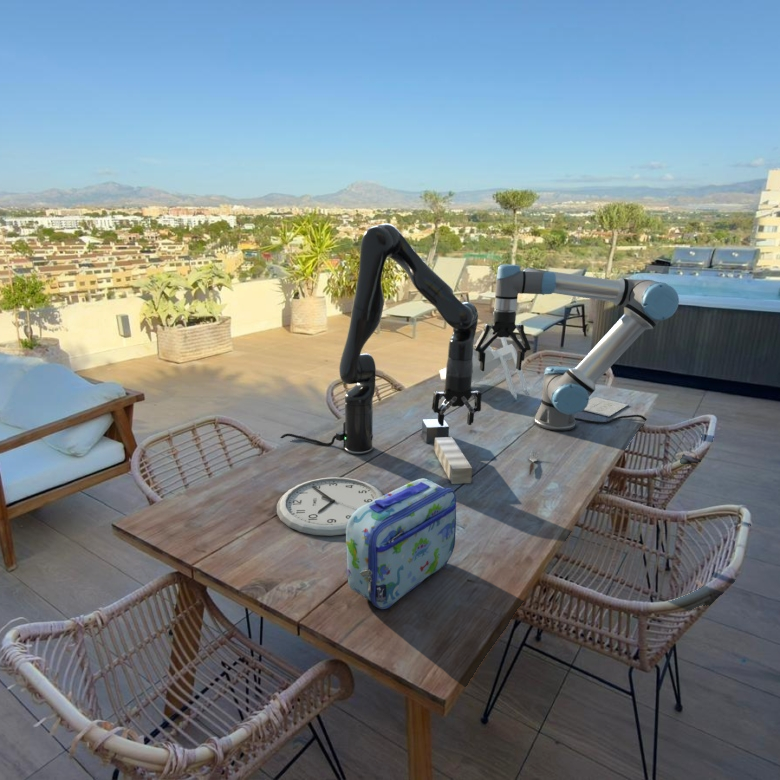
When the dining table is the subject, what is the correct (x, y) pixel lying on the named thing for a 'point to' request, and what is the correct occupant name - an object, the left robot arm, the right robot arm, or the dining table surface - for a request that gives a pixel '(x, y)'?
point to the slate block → (434, 430)
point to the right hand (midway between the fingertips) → (500, 369)
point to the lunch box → (400, 540)
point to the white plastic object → (495, 365)
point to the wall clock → (324, 504)
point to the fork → (533, 461)
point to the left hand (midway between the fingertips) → (455, 424)
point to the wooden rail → (453, 460)
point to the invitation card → (603, 406)
